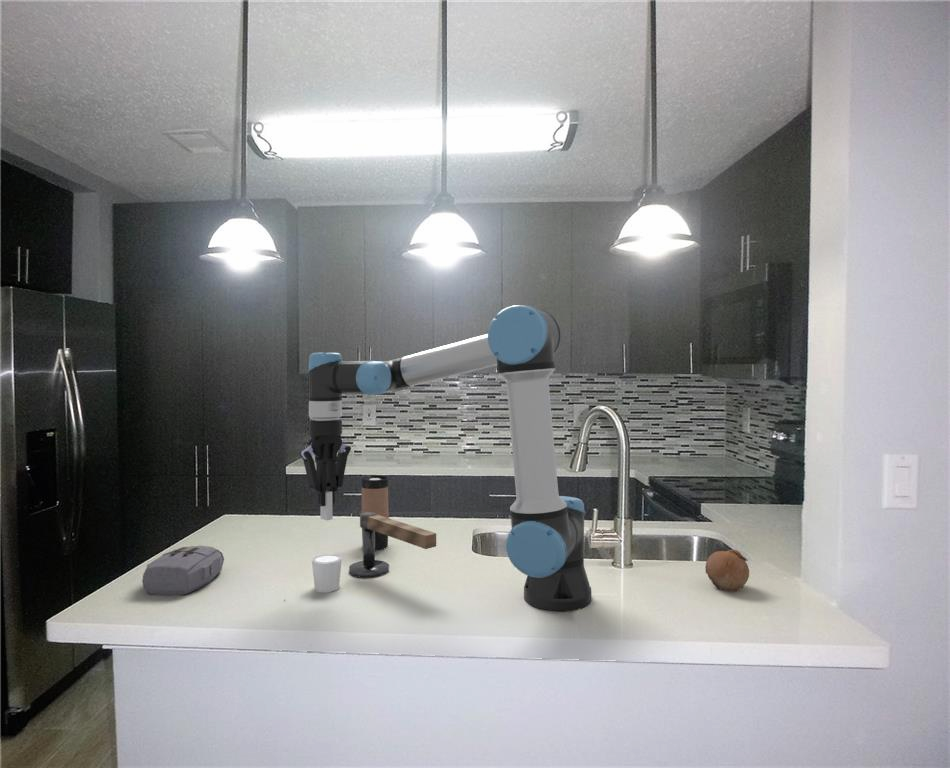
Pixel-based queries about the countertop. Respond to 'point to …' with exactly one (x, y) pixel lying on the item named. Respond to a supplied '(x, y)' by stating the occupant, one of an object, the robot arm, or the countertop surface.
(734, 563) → the onion
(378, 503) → the travel mug
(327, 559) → the white cup
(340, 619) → the countertop surface
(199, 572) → the soft grey pack
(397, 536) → the swing arm
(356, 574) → the swing post
